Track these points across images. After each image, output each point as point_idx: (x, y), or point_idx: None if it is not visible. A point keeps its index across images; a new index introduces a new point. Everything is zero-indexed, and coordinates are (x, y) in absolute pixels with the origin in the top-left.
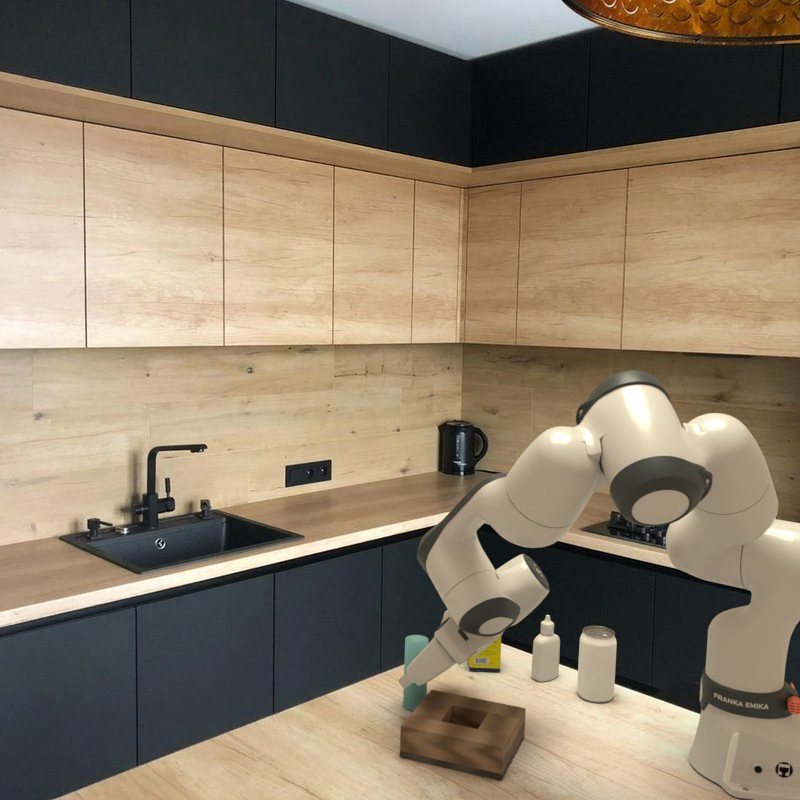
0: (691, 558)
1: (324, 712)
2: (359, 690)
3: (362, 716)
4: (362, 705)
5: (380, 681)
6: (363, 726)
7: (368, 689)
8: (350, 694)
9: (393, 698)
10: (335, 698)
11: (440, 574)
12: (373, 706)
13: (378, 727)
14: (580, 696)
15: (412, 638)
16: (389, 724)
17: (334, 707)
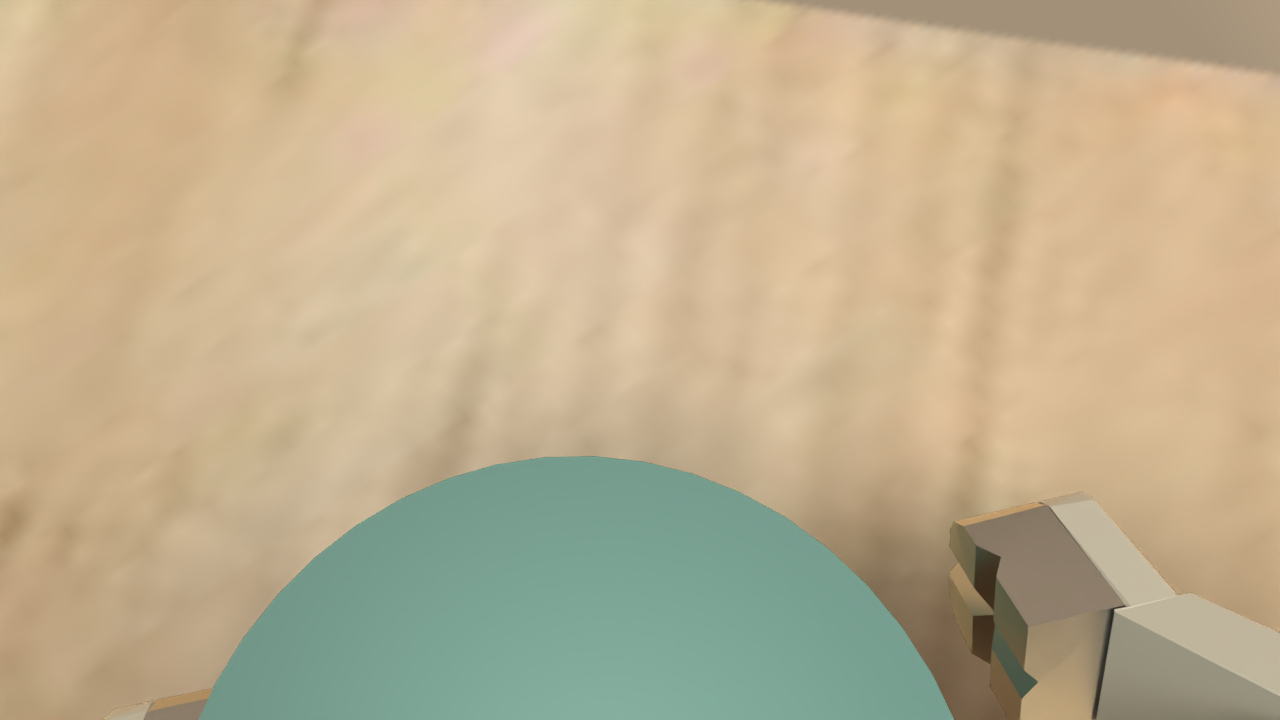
0: None
1: (108, 95)
2: (607, 68)
3: (208, 372)
4: (382, 252)
5: (873, 98)
6: (55, 488)
7: (672, 112)
8: (498, 57)
9: (661, 383)
10: (365, 12)
11: None
12: (420, 336)
13: (103, 605)
14: None
15: (520, 709)
16: (202, 653)
17: (224, 101)
